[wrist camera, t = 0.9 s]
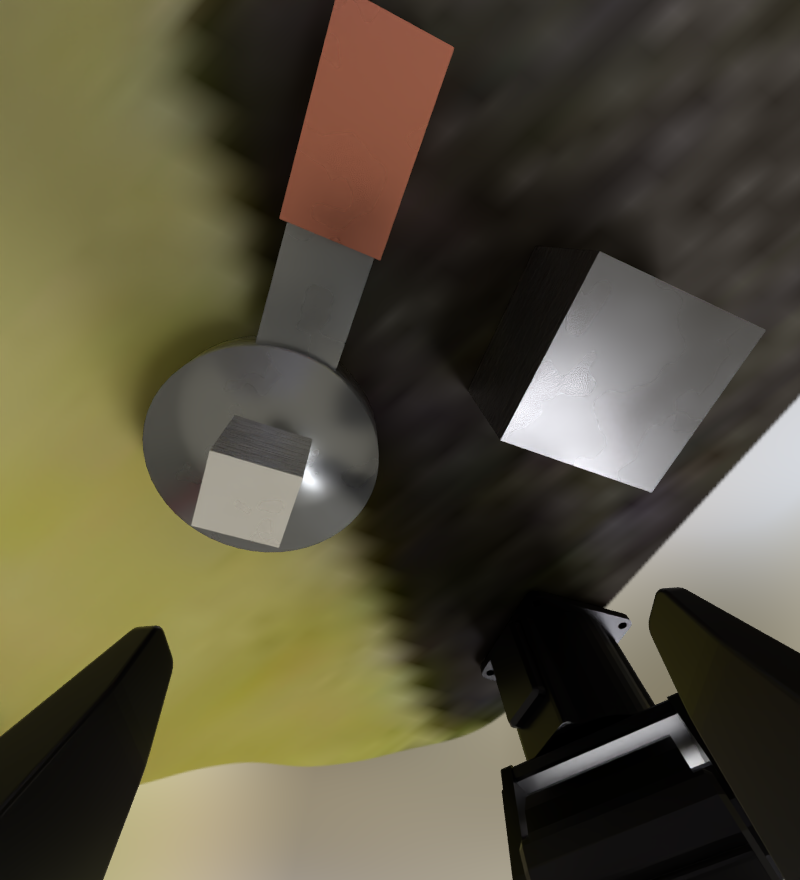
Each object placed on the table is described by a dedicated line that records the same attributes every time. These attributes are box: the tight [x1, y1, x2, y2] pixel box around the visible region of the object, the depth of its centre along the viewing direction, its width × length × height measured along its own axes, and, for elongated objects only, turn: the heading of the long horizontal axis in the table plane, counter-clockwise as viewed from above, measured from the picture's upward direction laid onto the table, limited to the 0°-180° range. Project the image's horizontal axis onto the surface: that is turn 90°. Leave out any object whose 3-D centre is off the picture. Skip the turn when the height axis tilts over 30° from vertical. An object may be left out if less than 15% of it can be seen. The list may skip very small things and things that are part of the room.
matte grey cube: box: [468, 246, 766, 492], centre depth 16 cm, size 6×6×5 cm
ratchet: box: [143, 0, 454, 552], centre depth 15 cm, size 19×9×5 cm, turn 158°
